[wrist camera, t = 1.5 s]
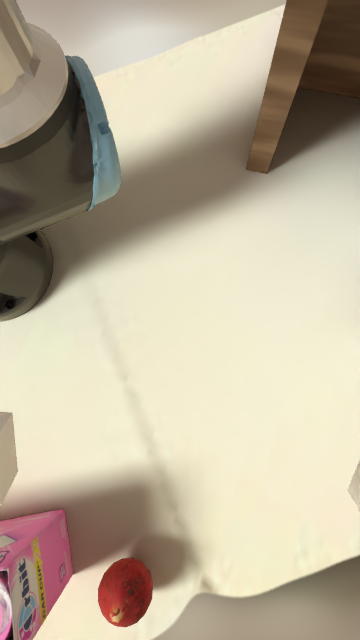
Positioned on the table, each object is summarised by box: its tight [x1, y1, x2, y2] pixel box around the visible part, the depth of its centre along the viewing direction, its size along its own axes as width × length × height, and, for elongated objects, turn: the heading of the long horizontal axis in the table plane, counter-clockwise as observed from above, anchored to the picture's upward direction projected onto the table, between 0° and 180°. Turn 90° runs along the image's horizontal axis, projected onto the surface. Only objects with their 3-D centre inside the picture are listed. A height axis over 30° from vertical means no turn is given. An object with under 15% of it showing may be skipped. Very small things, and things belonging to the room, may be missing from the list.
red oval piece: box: [98, 558, 153, 627], centre depth 37 cm, size 6×6×8 cm
